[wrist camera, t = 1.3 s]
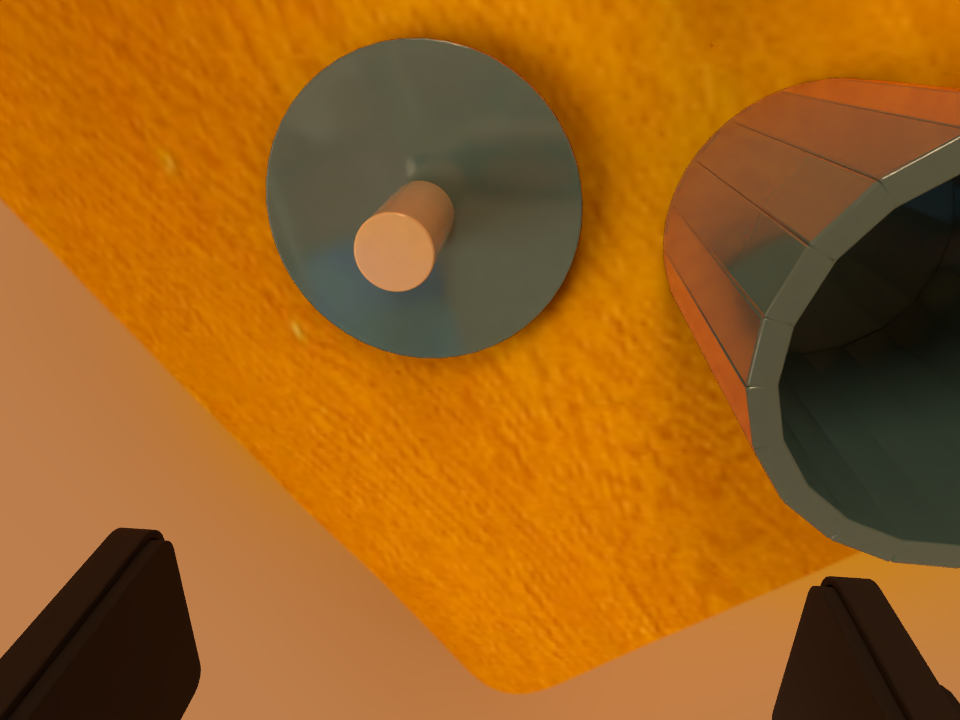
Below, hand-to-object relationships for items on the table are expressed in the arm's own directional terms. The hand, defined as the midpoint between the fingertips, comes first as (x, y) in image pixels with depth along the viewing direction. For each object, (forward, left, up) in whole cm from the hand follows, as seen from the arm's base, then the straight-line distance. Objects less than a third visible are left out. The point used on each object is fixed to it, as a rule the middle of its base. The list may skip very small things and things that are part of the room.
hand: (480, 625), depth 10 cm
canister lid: (-2, -4, -17) cm, 17 cm away
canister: (-2, +10, -18) cm, 20 cm away
